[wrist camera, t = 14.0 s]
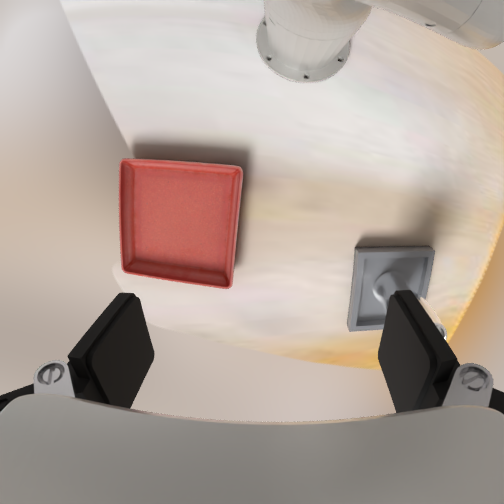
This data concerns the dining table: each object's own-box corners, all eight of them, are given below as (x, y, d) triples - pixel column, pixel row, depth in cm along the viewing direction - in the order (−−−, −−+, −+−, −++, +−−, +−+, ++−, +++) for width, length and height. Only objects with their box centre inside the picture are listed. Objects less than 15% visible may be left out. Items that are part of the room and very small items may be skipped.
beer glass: (366, 275, 45) (397, 333, 31) (406, 261, 43) (449, 313, 30) (373, 310, 47) (400, 372, 33) (410, 297, 46) (447, 354, 32)
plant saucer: (128, 156, 42) (118, 158, 39) (246, 163, 41) (244, 166, 38) (129, 264, 49) (121, 273, 46) (234, 280, 48) (232, 290, 45)
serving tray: (355, 247, 44) (358, 252, 42) (429, 245, 43) (435, 251, 41) (346, 324, 49) (349, 331, 47) (414, 319, 48) (418, 325, 46)
